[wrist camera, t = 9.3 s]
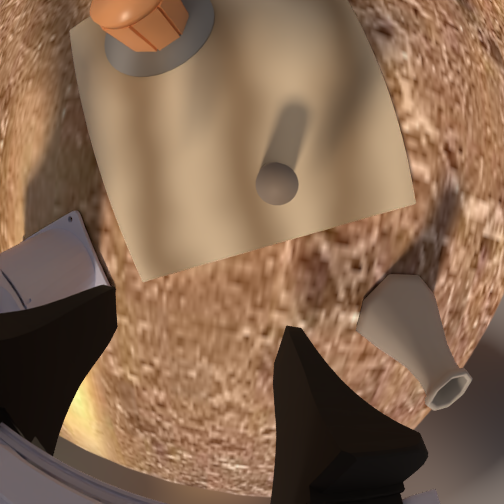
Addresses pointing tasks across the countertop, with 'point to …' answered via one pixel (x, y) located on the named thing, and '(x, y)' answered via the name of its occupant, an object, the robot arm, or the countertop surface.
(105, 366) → the countertop surface
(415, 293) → the flask
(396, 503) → the robot arm
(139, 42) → the orange domed tapered piece
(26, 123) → the countertop surface
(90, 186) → the countertop surface
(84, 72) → the board
